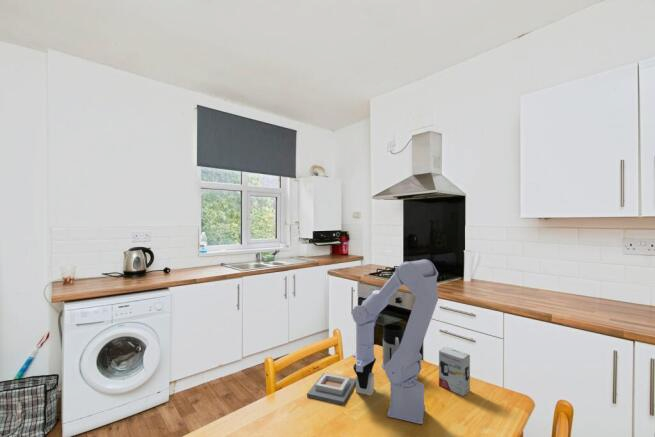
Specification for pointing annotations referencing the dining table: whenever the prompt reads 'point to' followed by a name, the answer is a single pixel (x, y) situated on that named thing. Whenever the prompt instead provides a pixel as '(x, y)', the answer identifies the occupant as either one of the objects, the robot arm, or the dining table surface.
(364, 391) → the plug
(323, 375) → the socket dock
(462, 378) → the ink box
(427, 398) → the dining table surface
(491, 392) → the dining table surface
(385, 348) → the glass holder
